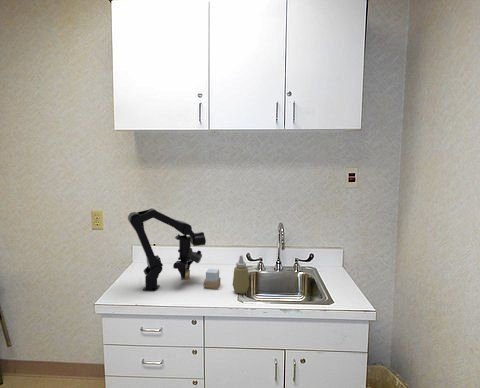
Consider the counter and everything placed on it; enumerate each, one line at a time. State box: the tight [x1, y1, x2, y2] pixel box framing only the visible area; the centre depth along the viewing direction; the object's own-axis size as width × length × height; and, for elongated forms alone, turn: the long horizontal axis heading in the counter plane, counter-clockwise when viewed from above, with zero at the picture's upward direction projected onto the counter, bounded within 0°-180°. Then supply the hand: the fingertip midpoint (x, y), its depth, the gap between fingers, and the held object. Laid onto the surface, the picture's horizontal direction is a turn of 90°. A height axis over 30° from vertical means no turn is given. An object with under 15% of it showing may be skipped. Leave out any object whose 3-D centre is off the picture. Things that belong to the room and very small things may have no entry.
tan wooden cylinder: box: [180, 268, 191, 281], centre depth 186 cm, size 5×5×4 cm
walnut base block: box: [203, 276, 221, 291], centre depth 182 cm, size 7×7×4 cm
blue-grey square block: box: [205, 268, 220, 282], centre depth 181 cm, size 6×6×4 cm
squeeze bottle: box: [232, 255, 250, 295], centre depth 175 cm, size 8×8×18 cm
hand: (185, 276), depth 186 cm, fingers closed on tan wooden cylinder, 5 cm apart
